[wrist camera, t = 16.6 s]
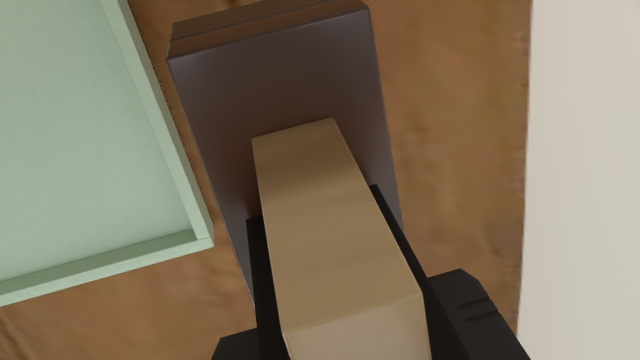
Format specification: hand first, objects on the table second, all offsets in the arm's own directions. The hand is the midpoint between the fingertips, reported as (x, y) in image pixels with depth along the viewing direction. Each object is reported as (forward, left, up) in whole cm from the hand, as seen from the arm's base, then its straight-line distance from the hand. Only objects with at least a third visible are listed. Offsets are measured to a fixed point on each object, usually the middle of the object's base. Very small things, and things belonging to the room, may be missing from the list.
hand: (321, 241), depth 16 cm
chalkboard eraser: (0, 0, -4) cm, 4 cm away
